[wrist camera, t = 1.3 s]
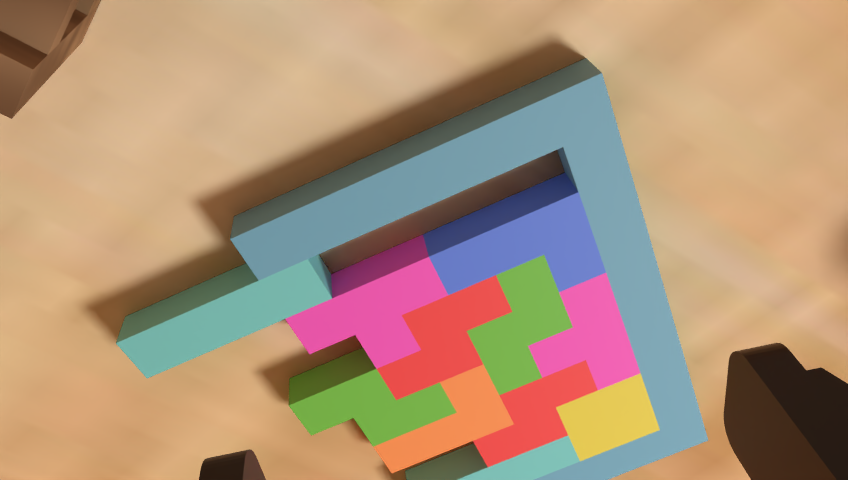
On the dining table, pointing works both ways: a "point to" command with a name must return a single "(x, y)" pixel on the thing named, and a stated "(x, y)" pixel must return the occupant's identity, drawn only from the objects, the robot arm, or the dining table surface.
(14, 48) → the shelf
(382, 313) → the tetris game
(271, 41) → the dining table surface
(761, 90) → the dining table surface
